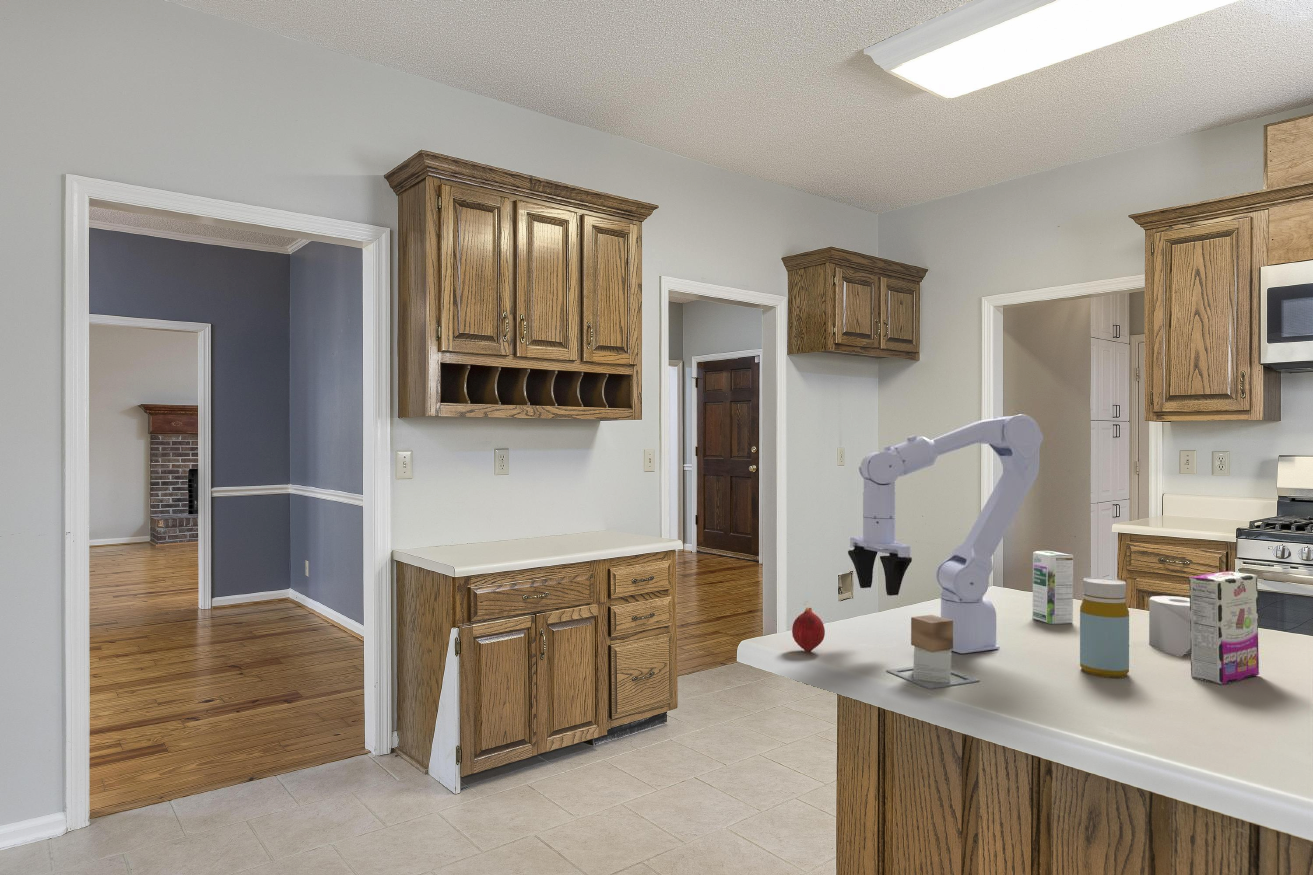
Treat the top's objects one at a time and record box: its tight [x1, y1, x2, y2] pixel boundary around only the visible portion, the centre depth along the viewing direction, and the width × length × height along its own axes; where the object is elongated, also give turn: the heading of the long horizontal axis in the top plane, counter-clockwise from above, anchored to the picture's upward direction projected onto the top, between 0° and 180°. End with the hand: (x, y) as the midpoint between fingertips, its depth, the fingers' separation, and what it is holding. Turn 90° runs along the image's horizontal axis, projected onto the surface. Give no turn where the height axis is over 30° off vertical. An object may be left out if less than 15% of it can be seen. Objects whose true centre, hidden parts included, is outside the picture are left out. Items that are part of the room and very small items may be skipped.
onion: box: [791, 606, 826, 653], centre depth 140 cm, size 6×6×8 cm
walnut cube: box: [910, 614, 953, 652], centre depth 126 cm, size 4×4×4 cm
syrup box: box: [1031, 550, 1074, 625], centre depth 166 cm, size 6×6×14 cm
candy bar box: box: [1188, 571, 1260, 685], centre depth 127 cm, size 11×5×16 cm, turn 118°
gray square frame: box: [885, 665, 980, 690], centre depth 126 cm, size 10×10×1 cm
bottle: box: [1079, 577, 1130, 679], centre depth 129 cm, size 7×7×15 cm
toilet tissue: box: [1148, 595, 1191, 658], centre depth 143 cm, size 9×13×9 cm
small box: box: [912, 646, 952, 684], centre depth 126 cm, size 6×6×5 cm
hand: (878, 591), depth 144 cm, fingers open, 7 cm apart
